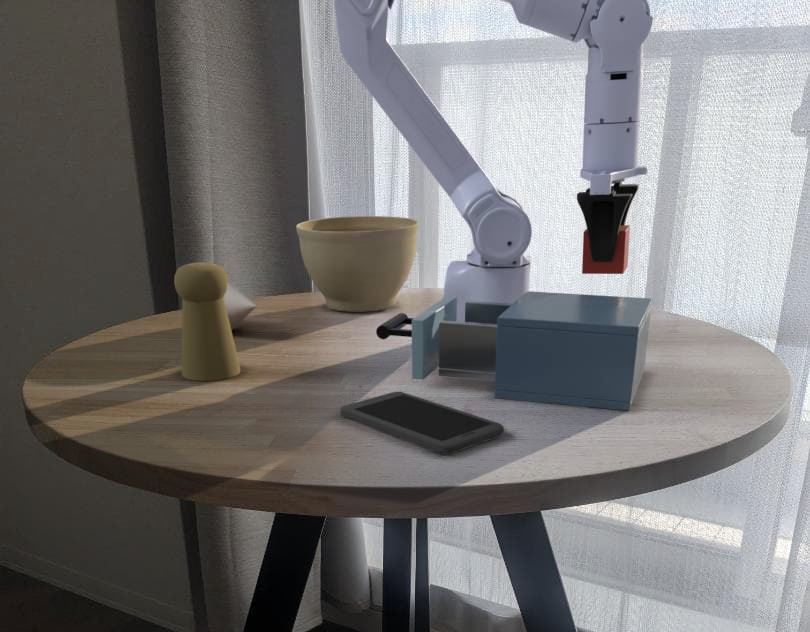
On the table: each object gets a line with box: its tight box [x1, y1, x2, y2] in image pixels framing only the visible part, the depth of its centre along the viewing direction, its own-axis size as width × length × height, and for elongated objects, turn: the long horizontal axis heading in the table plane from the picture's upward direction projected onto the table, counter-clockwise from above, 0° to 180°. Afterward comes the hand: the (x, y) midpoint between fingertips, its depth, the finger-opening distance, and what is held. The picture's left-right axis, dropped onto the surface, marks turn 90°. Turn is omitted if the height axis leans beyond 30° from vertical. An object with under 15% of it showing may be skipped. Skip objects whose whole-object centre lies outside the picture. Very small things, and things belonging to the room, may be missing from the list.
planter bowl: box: [295, 215, 420, 313], centre depth 117 cm, size 16×16×11 cm
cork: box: [173, 261, 241, 382], centre depth 88 cm, size 6×6×11 cm
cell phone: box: [339, 391, 505, 454], centre depth 75 cm, size 7×14×1 cm, turn 42°
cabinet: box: [494, 290, 653, 411], centre depth 84 cm, size 13×13×8 cm
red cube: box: [581, 224, 631, 275], centre depth 97 cm, size 4×4×4 cm
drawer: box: [375, 296, 512, 382], centre depth 87 cm, size 16×11×6 cm
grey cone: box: [224, 281, 257, 331], centre depth 105 cm, size 6×6×15 cm
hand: (605, 257), depth 97 cm, fingers closed on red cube, 4 cm apart
